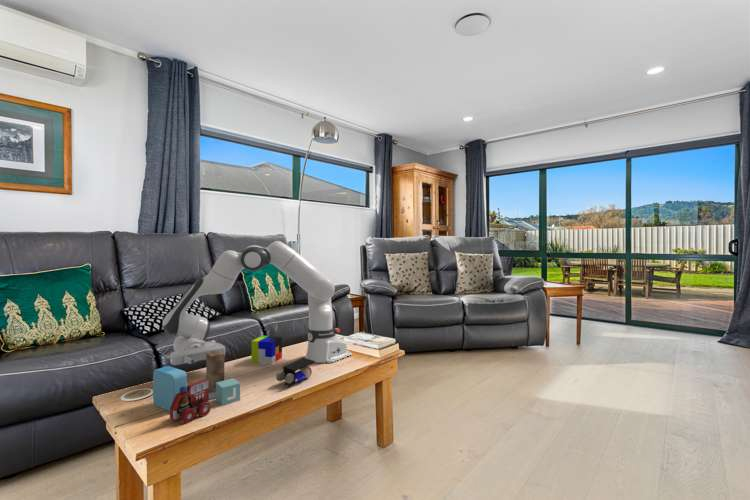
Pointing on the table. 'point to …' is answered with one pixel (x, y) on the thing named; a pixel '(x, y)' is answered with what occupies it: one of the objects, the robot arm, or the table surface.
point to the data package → (167, 385)
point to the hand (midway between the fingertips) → (204, 358)
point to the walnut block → (214, 368)
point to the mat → (212, 395)
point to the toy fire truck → (191, 401)
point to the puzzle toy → (266, 349)
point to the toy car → (290, 370)
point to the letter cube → (227, 391)
